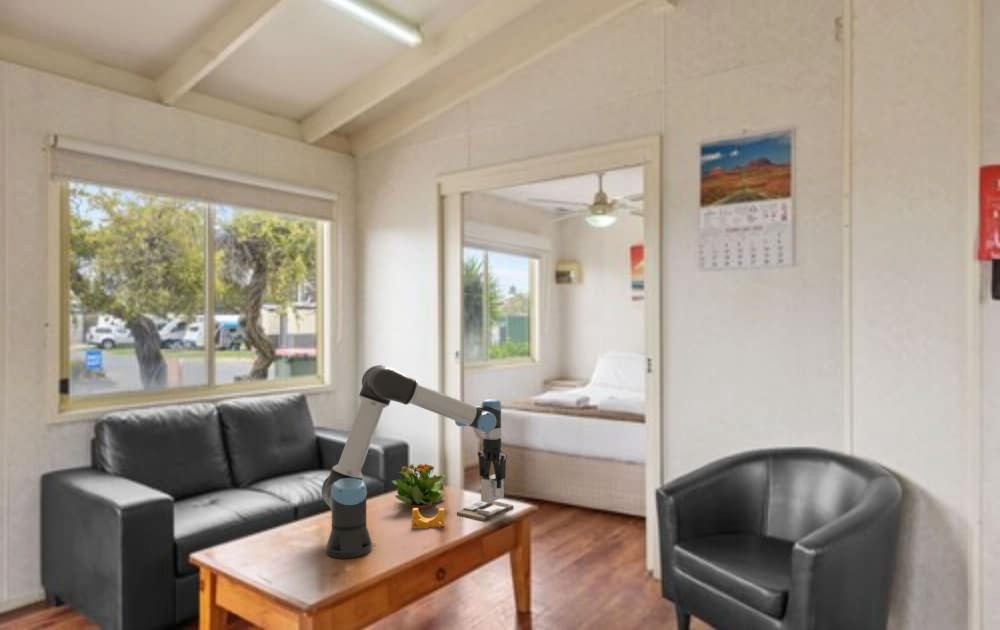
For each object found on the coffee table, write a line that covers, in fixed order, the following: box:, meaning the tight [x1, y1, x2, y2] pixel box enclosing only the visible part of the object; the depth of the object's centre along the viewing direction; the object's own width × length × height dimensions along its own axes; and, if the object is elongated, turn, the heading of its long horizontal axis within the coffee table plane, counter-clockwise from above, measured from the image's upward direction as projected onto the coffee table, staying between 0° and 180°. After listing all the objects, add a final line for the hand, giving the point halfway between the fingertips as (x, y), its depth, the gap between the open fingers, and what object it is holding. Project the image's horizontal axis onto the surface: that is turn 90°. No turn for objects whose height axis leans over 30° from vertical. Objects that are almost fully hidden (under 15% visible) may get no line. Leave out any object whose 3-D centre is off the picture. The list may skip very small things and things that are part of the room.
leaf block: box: [480, 473, 505, 503], centre depth 249 cm, size 10×4×9 cm, turn 144°
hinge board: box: [456, 500, 514, 522], centre depth 251 cm, size 20×14×2 cm
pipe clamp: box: [410, 507, 445, 529], centre depth 234 cm, size 12×4×6 cm, turn 88°
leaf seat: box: [477, 500, 509, 516], centre depth 249 cm, size 13×6×2 cm, turn 144°
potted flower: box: [391, 463, 447, 510], centre depth 259 cm, size 25×24×18 cm
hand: (492, 494), depth 249 cm, fingers closed on leaf block, 4 cm apart
